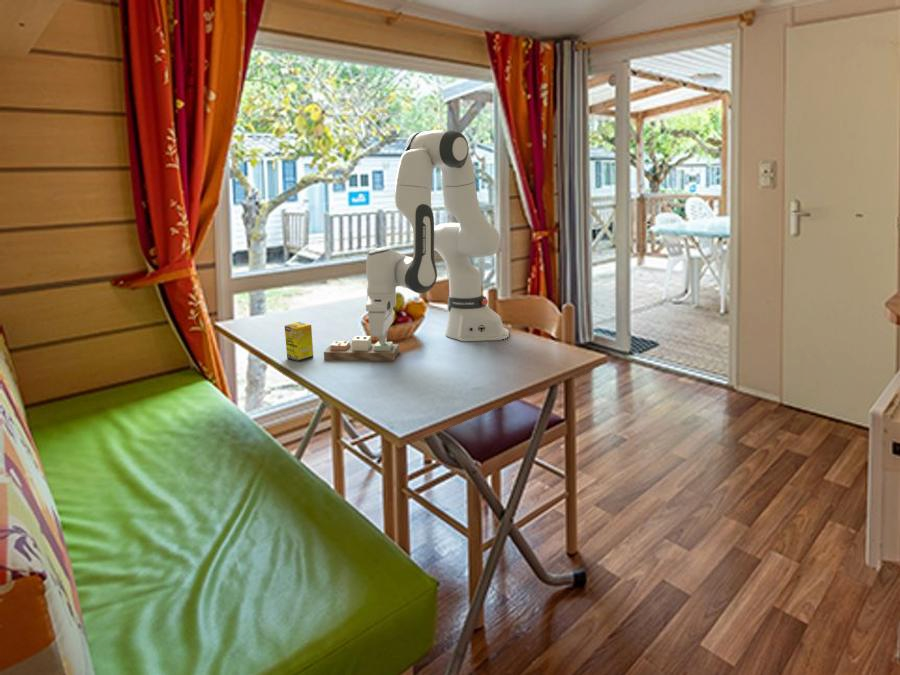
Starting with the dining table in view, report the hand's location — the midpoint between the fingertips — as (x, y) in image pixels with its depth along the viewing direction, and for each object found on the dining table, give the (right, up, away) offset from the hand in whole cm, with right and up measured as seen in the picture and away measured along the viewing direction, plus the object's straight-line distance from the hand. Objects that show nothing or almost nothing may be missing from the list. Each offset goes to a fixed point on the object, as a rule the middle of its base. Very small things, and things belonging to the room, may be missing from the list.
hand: (383, 343), depth 197 cm
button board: (-7, -4, +2) cm, 8 cm away
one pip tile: (0, -4, +1) cm, 4 cm away
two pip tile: (-7, -2, +2) cm, 7 cm away
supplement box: (-26, -5, 0) cm, 27 cm away
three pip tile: (-14, -4, +3) cm, 15 cm away
